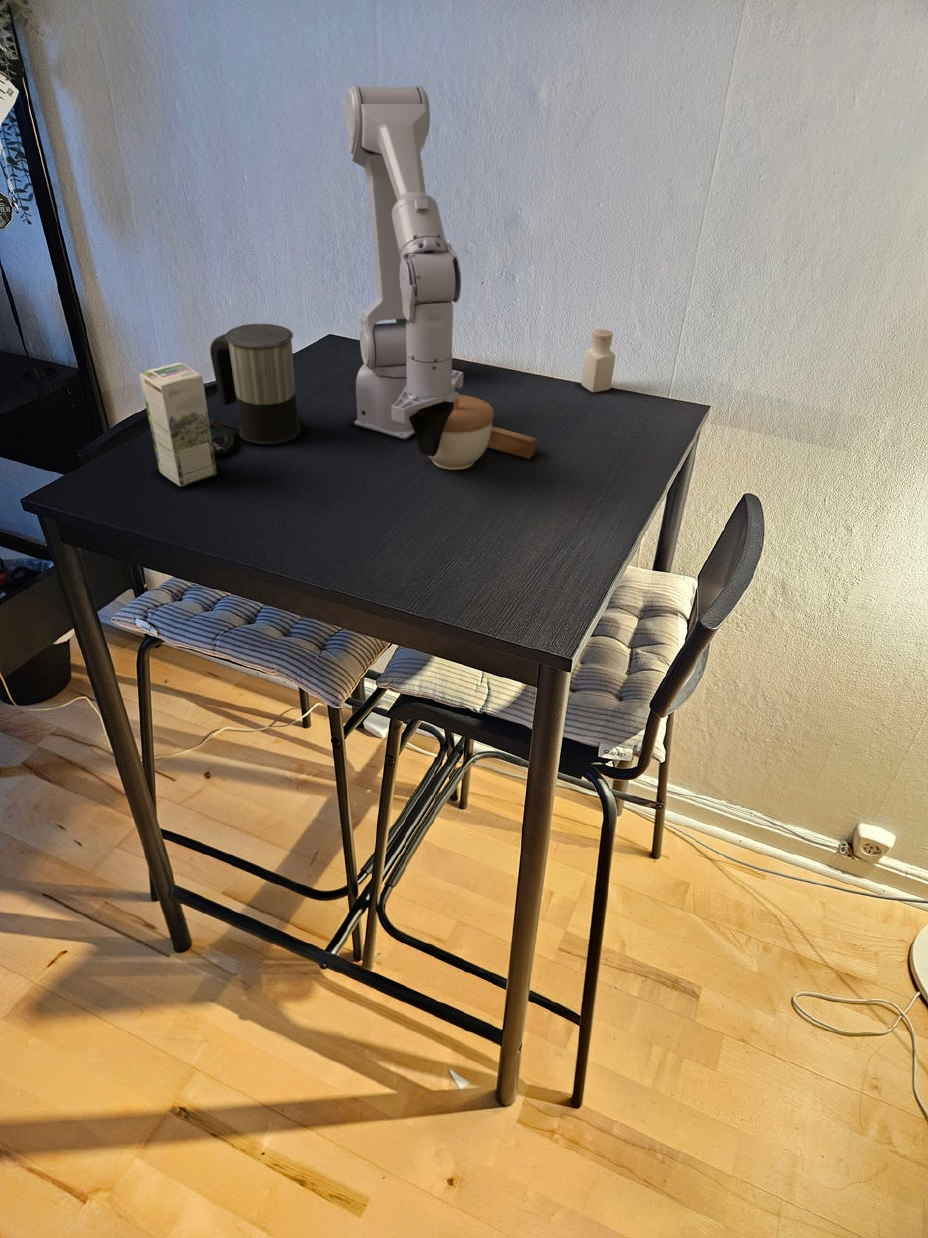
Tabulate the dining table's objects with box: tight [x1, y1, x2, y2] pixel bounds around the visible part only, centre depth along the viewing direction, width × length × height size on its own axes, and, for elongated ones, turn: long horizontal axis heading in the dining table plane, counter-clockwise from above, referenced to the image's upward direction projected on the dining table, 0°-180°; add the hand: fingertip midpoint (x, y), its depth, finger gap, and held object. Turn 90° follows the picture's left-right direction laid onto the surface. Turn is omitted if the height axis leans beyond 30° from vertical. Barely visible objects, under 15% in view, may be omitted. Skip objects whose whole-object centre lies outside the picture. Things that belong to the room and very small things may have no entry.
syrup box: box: [139, 361, 218, 488], centre depth 110 cm, size 6×6×14 cm
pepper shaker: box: [580, 328, 616, 393], centre depth 140 cm, size 4×4×10 cm
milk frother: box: [209, 323, 302, 456], centre depth 118 cm, size 14×16×15 cm
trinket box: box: [426, 394, 495, 471], centre depth 117 cm, size 11×11×9 cm
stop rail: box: [487, 425, 537, 459], centre depth 124 cm, size 16×2×3 cm, turn 60°
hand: (428, 453), depth 113 cm, fingers closed
